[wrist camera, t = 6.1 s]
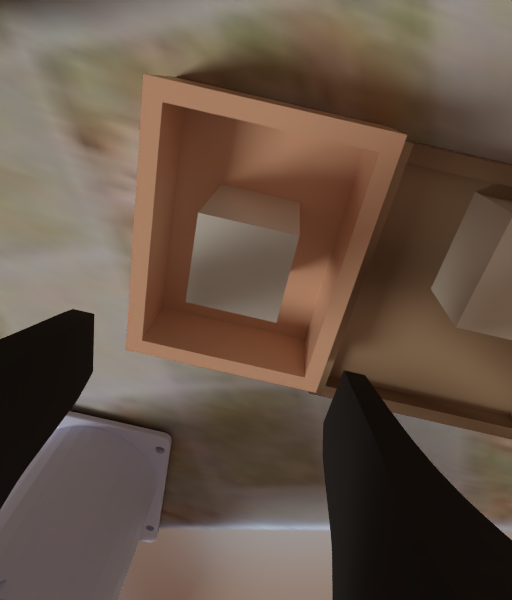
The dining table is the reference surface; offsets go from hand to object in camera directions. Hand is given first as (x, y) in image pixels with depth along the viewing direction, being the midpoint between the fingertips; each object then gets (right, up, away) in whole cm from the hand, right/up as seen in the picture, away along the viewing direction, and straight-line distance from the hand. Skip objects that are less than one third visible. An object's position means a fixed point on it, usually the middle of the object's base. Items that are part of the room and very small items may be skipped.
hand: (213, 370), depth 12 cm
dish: (+1, +5, +5) cm, 7 cm away
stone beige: (+10, +4, +4) cm, 12 cm away
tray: (+10, +2, +5) cm, 11 cm away
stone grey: (+1, +2, +3) cm, 4 cm away
